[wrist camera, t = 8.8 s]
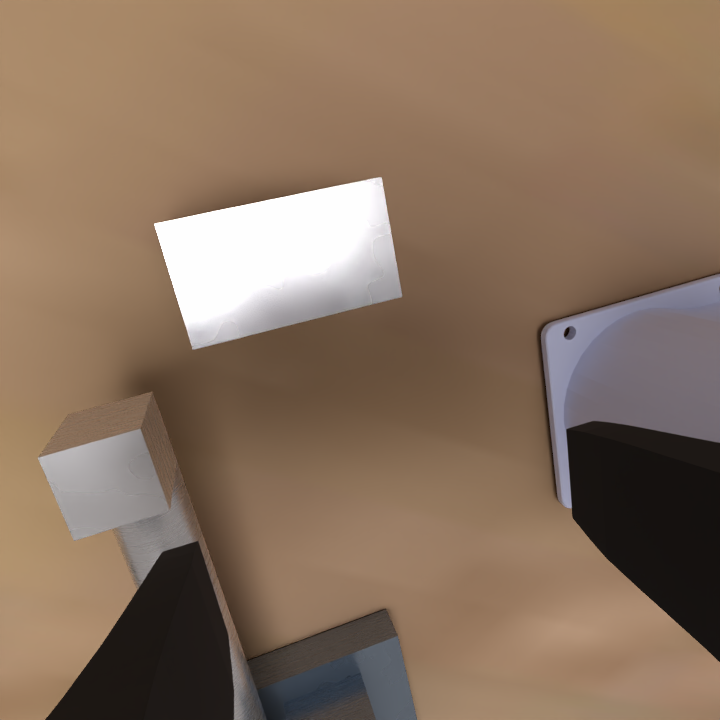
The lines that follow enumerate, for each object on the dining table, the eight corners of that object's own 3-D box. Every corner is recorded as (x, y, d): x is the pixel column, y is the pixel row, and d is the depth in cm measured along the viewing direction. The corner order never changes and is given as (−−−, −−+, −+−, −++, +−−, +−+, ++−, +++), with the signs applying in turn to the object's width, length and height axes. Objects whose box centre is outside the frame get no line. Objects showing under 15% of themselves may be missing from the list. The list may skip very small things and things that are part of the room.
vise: (316, 313, 18) (368, 364, 12) (419, 749, 25) (487, 926, 18) (-214, 451, 15) (-490, 606, 9) (57, 905, 22) (-3, 1175, 16)
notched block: (340, 185, 17) (381, 177, 13) (358, 277, 18) (402, 296, 14) (168, 220, 16) (154, 223, 12) (197, 316, 17) (192, 350, 13)
